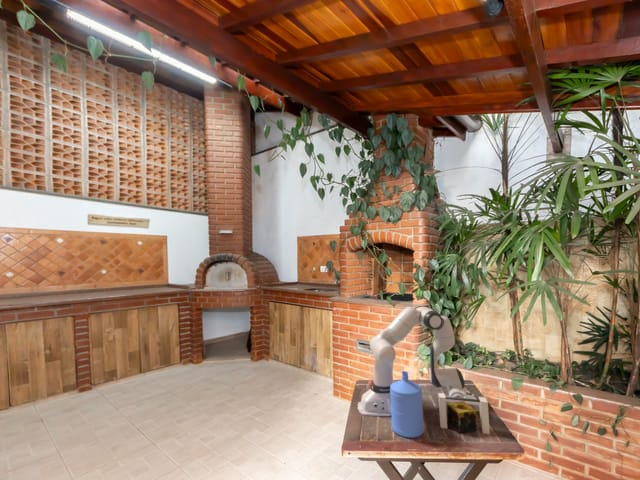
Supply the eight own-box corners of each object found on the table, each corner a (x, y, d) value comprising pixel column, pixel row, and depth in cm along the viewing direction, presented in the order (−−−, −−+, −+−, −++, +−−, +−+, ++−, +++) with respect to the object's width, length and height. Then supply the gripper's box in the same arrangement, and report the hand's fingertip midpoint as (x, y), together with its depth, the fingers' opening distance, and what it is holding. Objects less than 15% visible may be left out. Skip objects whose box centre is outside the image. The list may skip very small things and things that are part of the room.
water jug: (426, 440, 142) (423, 379, 144) (392, 437, 146) (389, 377, 147) (421, 421, 158) (419, 367, 159) (391, 419, 161) (388, 366, 162)
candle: (446, 422, 156) (445, 402, 157) (464, 420, 158) (463, 400, 158) (459, 434, 146) (458, 412, 147) (477, 431, 148) (476, 410, 148)
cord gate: (440, 427, 152) (439, 397, 153) (440, 422, 157) (438, 392, 157) (489, 433, 145) (487, 402, 146) (487, 428, 150) (485, 397, 151)
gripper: (437, 390, 175) (439, 402, 161) (476, 394, 168) (482, 406, 155) (438, 402, 174) (440, 414, 161) (477, 406, 168) (483, 419, 155)
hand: (461, 410), depth 158 cm, fingers closed
